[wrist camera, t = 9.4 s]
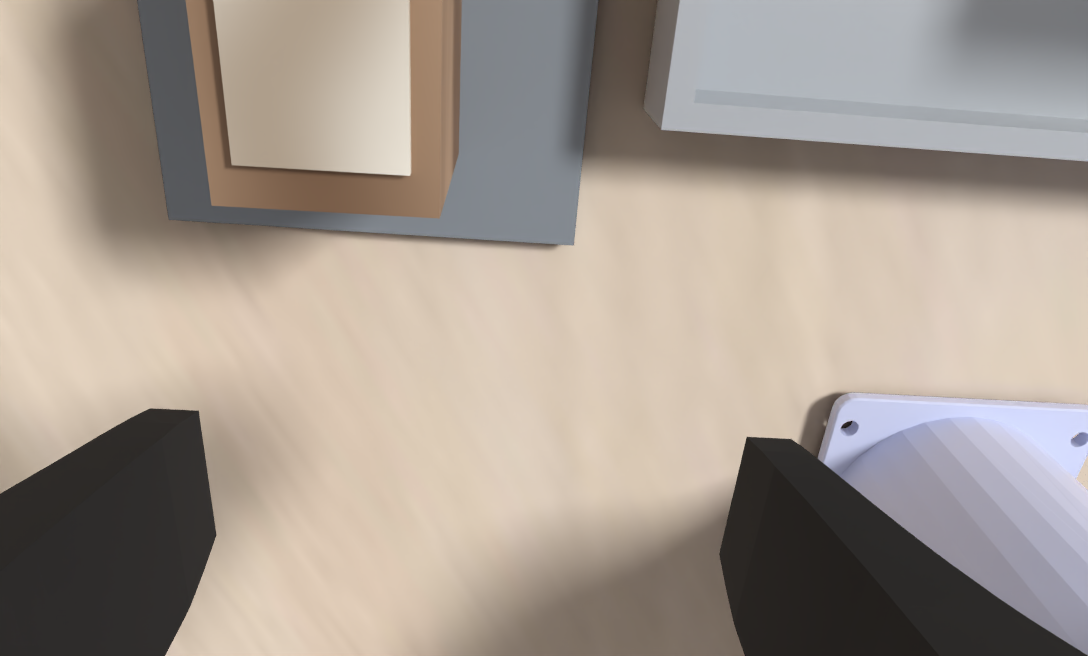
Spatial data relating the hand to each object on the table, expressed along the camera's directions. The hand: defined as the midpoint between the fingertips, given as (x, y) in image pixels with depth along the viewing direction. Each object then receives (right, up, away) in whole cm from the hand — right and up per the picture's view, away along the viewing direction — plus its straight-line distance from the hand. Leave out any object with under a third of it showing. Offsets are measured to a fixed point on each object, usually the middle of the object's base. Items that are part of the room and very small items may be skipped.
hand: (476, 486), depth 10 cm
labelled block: (-3, +9, +6) cm, 12 cm away
